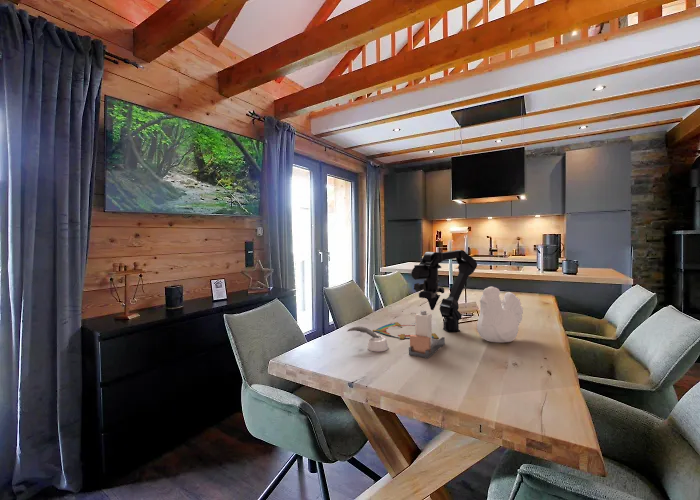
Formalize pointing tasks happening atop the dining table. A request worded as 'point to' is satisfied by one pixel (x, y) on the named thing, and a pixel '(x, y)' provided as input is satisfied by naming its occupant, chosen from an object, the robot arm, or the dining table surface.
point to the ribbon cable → (383, 331)
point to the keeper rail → (433, 348)
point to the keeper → (423, 324)
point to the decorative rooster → (499, 316)
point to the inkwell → (373, 340)
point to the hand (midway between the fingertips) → (432, 309)
